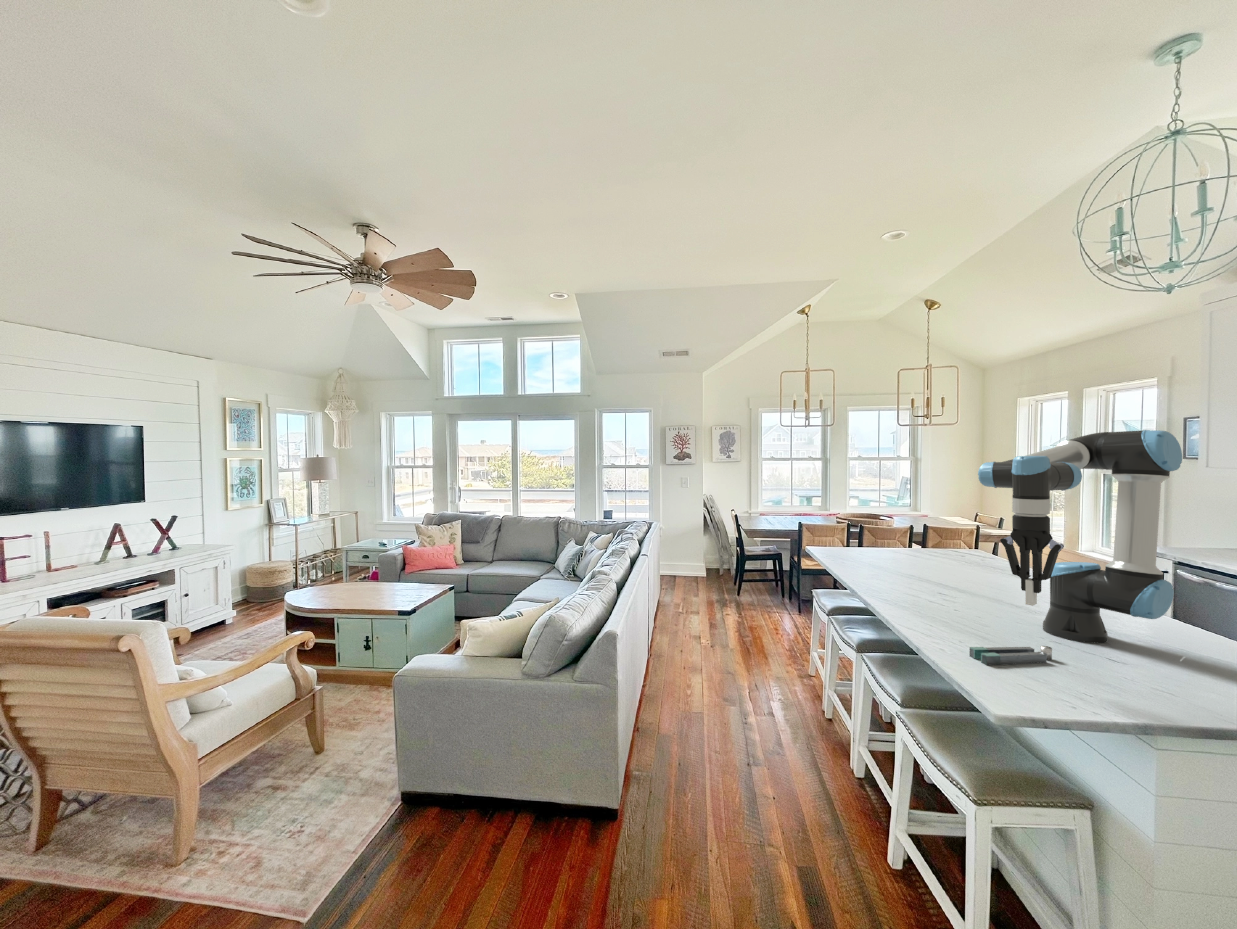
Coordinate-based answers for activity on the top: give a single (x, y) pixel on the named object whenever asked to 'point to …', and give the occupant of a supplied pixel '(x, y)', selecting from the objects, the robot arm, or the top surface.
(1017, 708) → the top surface
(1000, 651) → the arm
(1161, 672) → the top surface
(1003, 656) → the tongs free arm
